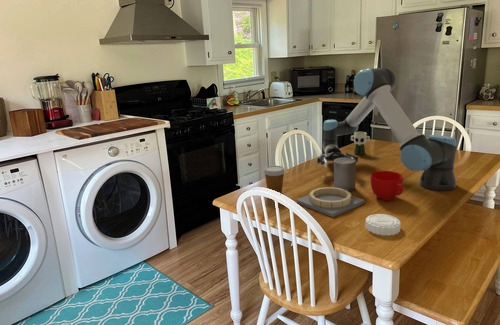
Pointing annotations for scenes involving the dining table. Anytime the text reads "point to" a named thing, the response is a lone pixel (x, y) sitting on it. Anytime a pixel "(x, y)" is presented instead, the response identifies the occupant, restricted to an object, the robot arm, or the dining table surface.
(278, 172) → the disposable coffee cup
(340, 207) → the board
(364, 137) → the character mug
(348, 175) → the pillar candle
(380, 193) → the ceramic cup
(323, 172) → the dining table surface
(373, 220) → the mooncake
